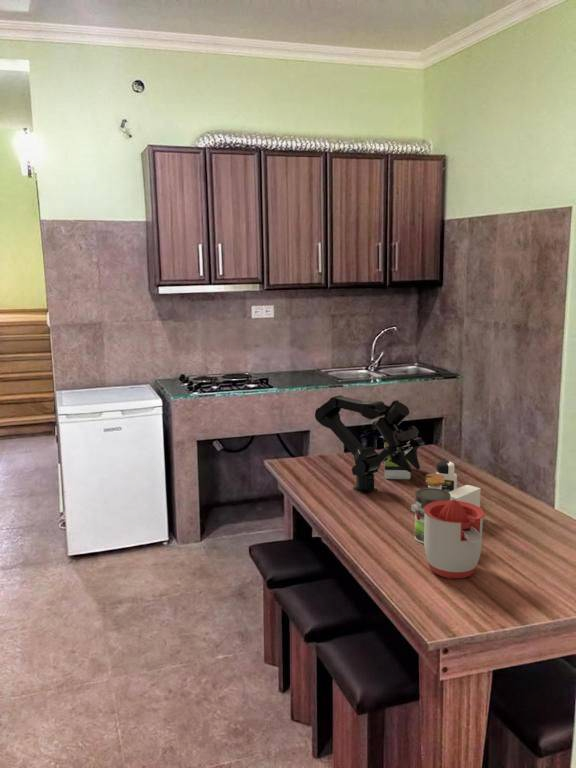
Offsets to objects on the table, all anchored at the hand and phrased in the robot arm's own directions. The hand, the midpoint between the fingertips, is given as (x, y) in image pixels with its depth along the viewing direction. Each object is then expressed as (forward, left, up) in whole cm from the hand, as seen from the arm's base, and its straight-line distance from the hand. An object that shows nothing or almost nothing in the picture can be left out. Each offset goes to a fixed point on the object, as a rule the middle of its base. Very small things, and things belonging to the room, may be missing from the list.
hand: (415, 470), depth 226 cm
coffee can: (+23, -14, -13) cm, 30 cm away
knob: (+8, +1, -10) cm, 13 cm away
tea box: (-30, +18, -13) cm, 37 cm away
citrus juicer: (+42, -24, -13) cm, 50 cm away
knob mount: (+11, +2, -13) cm, 17 cm away
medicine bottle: (-2, +16, -13) cm, 21 cm away
